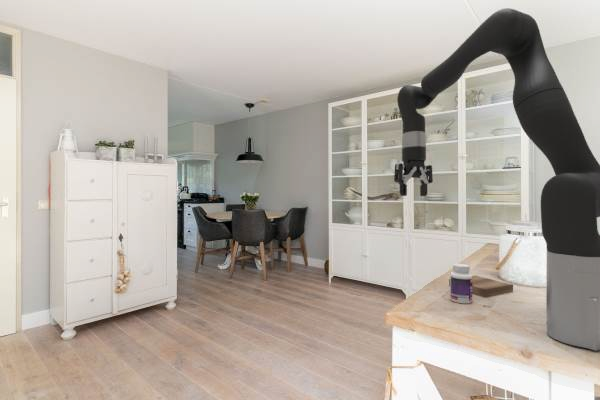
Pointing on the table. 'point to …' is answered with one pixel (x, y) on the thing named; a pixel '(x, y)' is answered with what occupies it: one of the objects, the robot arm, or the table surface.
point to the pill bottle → (461, 284)
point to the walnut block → (489, 287)
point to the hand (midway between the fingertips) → (413, 196)
